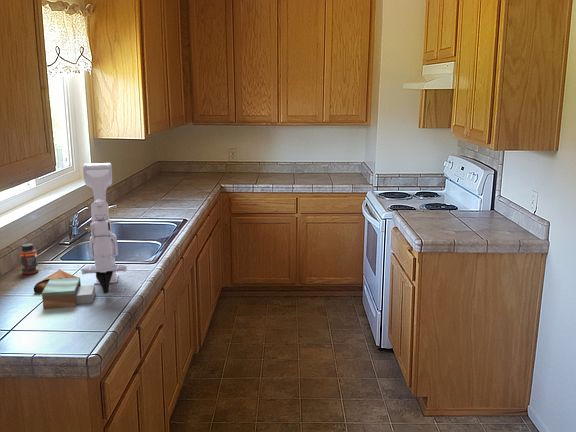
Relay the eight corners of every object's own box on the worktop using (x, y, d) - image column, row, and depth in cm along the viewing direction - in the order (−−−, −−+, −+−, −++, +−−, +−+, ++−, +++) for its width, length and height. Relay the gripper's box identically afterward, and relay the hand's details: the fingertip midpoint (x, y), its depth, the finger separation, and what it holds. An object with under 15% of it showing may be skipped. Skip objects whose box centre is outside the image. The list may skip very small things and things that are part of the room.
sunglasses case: (56, 293, 194) (45, 277, 193) (41, 302, 196) (30, 287, 195) (79, 276, 212) (69, 262, 211) (65, 285, 213) (55, 270, 212)
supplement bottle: (42, 271, 218) (39, 243, 216) (29, 275, 213) (25, 247, 210) (31, 269, 221) (28, 241, 218) (18, 273, 216) (15, 245, 213)
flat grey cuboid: (53, 296, 192) (52, 288, 191) (95, 293, 195) (94, 285, 194) (48, 306, 184) (47, 297, 183) (92, 302, 187) (91, 294, 186)
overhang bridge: (51, 294, 194) (49, 279, 193) (81, 292, 196) (80, 277, 195) (43, 308, 181) (41, 293, 180) (75, 306, 183) (74, 290, 182)
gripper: (78, 259, 183) (82, 297, 186) (124, 256, 186) (127, 294, 189) (82, 253, 190) (85, 290, 193) (125, 250, 193) (128, 287, 196)
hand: (106, 292), depth 191 cm, fingers closed
